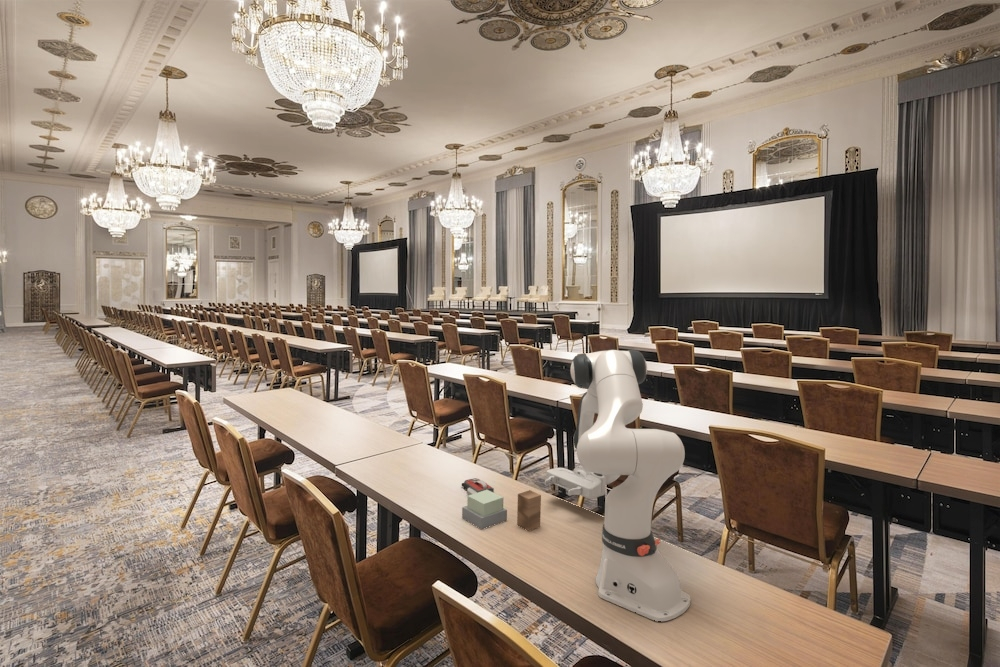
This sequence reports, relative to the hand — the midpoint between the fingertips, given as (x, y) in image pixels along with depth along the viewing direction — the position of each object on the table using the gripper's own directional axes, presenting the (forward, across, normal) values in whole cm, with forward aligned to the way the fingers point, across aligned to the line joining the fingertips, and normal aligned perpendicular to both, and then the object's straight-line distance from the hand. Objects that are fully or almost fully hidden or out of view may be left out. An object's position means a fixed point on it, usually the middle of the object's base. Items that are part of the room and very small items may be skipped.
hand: (556, 487), depth 166 cm
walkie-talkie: (+9, -28, +10) cm, 31 cm away
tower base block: (+20, -12, +10) cm, 25 cm away
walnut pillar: (+12, 0, +9) cm, 15 cm away
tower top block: (+20, -11, +5) cm, 24 cm away
